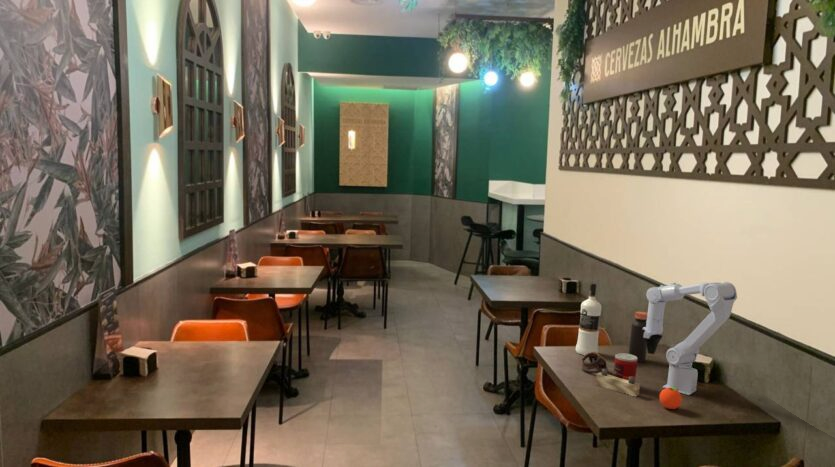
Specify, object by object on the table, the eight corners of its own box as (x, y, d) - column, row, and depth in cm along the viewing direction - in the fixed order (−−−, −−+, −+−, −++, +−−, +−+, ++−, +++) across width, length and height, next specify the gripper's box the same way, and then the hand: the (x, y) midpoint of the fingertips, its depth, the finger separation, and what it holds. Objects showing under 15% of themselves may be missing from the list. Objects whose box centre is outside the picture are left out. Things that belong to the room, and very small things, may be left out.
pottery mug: (612, 377, 237) (605, 360, 234) (588, 385, 239) (581, 368, 236) (604, 359, 248) (598, 343, 245) (582, 367, 250) (575, 351, 247)
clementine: (666, 402, 213) (669, 382, 213) (686, 409, 208) (688, 388, 207) (654, 406, 208) (656, 386, 208) (673, 414, 203) (676, 393, 202)
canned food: (637, 385, 228) (640, 356, 227) (631, 391, 222) (634, 361, 220) (616, 380, 232) (619, 351, 231) (609, 385, 226) (612, 356, 224)
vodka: (602, 355, 261) (609, 285, 258) (584, 357, 258) (591, 286, 254) (588, 349, 270) (595, 281, 266) (570, 350, 266) (577, 281, 262)
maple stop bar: (638, 395, 218) (640, 378, 218) (635, 397, 216) (637, 380, 215) (598, 382, 228) (600, 366, 228) (595, 384, 226) (596, 368, 225)
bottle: (635, 356, 263) (640, 310, 261) (648, 361, 257) (654, 314, 255) (624, 358, 260) (629, 311, 257) (637, 363, 254) (643, 315, 252)
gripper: (651, 313, 243) (647, 346, 245) (637, 319, 232) (633, 354, 234) (670, 317, 239) (665, 351, 240) (656, 323, 228) (651, 359, 229)
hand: (651, 353), depth 237 cm, fingers closed
